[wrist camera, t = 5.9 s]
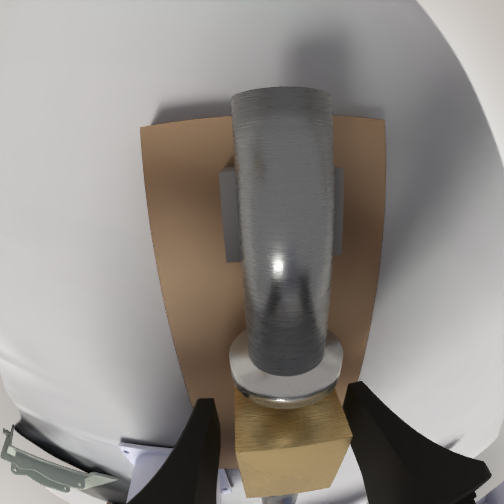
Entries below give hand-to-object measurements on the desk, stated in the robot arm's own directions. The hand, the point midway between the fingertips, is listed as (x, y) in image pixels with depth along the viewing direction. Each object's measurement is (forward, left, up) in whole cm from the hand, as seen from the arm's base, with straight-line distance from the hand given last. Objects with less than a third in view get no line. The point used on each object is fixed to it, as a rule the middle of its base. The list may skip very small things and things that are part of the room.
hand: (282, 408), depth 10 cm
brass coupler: (-1, 0, -2) cm, 2 cm away
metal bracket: (-19, +26, -4) cm, 33 cm away
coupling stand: (0, 0, -3) cm, 3 cm away
